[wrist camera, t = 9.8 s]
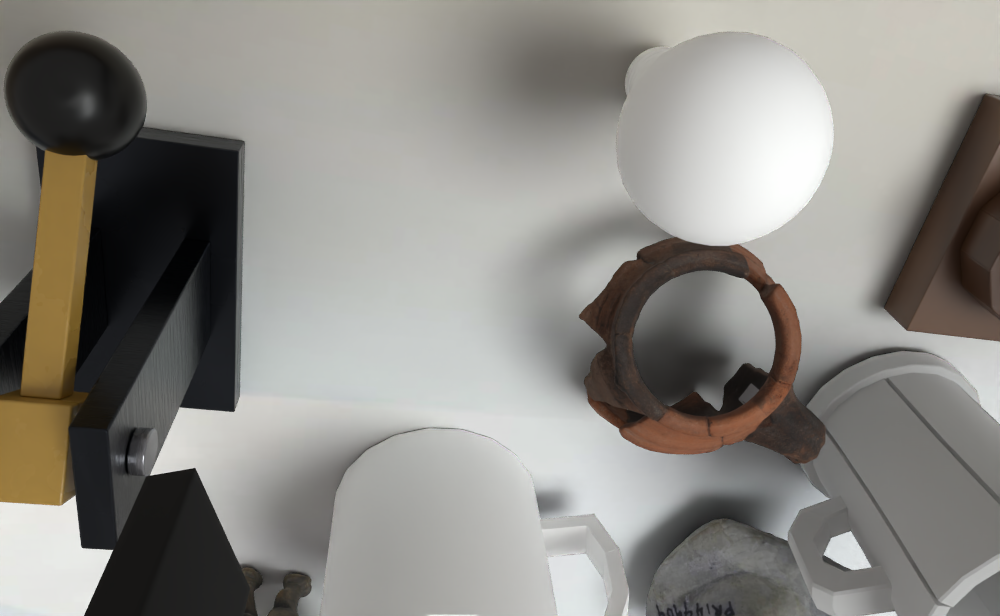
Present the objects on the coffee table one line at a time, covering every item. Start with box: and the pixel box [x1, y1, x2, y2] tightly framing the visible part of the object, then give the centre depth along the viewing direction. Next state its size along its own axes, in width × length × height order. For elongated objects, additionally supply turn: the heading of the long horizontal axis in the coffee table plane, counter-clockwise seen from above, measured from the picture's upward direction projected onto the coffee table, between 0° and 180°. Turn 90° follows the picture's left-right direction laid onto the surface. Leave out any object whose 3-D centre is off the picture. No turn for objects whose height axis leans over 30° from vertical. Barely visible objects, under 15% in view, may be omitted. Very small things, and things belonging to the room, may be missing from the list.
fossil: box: [646, 518, 853, 616], centre depth 40 cm, size 11×9×8 cm
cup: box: [788, 351, 1000, 616], centre depth 35 cm, size 10×9×12 cm
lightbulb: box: [616, 32, 834, 246], centre depth 25 cm, size 6×6×11 cm
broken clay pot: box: [579, 237, 826, 464], centre depth 34 cm, size 12×10×8 cm
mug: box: [320, 428, 629, 616], centre depth 36 cm, size 14×10×11 cm
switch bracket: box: [0, 127, 245, 550], centre depth 27 cm, size 12×7×13 cm, turn 170°
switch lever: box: [0, 31, 147, 506], centre depth 23 cm, size 13×4×4 cm, turn 170°
